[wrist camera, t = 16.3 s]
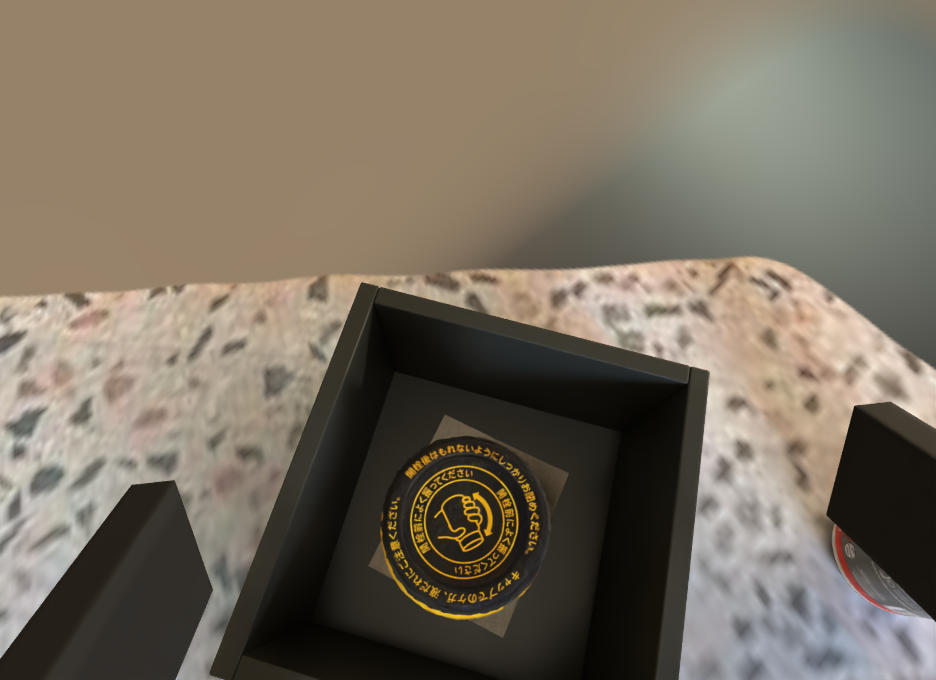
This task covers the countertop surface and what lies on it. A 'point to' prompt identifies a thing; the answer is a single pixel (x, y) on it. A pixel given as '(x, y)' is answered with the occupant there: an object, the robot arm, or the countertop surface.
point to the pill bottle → (871, 578)
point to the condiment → (468, 525)
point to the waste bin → (518, 425)
